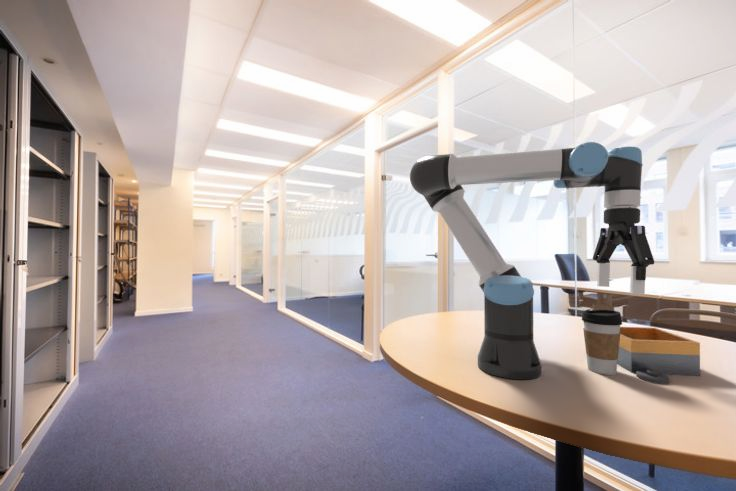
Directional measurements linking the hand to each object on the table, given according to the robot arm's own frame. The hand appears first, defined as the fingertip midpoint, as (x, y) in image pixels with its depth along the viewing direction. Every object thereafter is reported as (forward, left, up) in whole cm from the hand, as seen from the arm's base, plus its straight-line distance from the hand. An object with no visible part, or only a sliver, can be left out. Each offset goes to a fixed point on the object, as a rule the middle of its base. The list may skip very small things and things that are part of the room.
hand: (618, 289), depth 86 cm
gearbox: (+8, +4, -20) cm, 22 cm away
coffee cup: (-6, -3, -20) cm, 21 cm away
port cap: (+3, -7, -20) cm, 22 cm away
